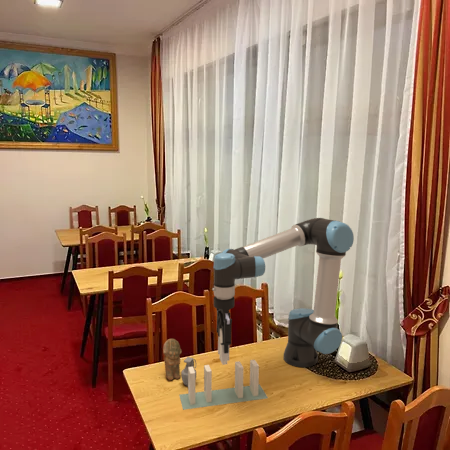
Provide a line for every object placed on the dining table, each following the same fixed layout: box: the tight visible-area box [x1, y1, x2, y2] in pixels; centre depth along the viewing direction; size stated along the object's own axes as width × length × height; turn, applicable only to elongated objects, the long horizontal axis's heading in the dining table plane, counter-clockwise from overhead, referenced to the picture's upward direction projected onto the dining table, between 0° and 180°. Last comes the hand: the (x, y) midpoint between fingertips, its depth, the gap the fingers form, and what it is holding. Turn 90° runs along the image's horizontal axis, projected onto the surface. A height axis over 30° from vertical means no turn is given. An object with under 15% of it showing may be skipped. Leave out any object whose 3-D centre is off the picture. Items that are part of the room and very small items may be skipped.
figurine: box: [162, 338, 182, 381], centre depth 173 cm, size 8×8×15 cm
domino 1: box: [187, 367, 196, 405], centre depth 155 cm, size 2×5×12 cm, turn 14°
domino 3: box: [218, 328, 228, 366], centre depth 155 cm, size 2×5×12 cm, turn 14°
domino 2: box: [203, 364, 213, 402], centre depth 156 cm, size 2×5×12 cm, turn 14°
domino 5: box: [249, 359, 260, 396], centre depth 160 cm, size 2×5×12 cm, turn 14°
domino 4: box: [234, 360, 244, 398], centre depth 159 cm, size 2×5×12 cm, turn 14°
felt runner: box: [178, 383, 269, 411], centre depth 158 cm, size 32×10×1 cm, turn 104°
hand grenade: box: [180, 356, 197, 387], centre depth 167 cm, size 6×6×11 cm
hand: (223, 356), depth 156 cm, fingers closed on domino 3, 5 cm apart
